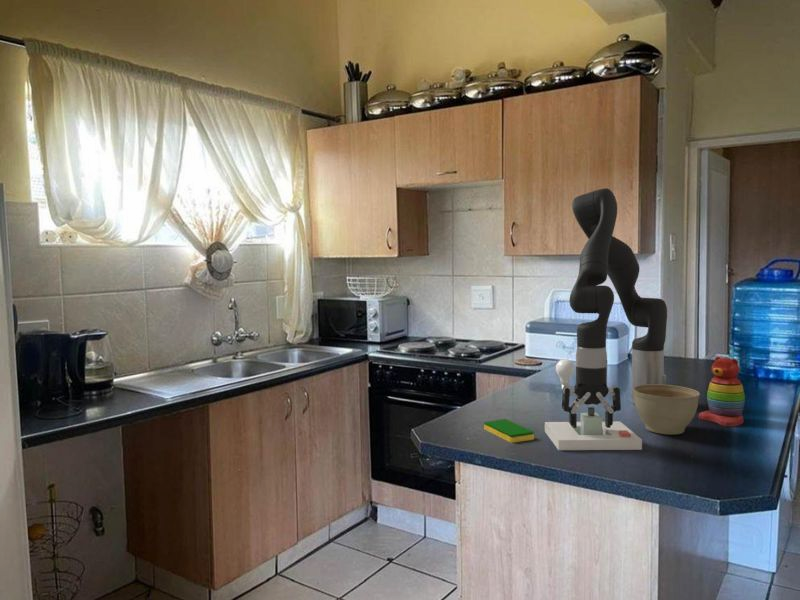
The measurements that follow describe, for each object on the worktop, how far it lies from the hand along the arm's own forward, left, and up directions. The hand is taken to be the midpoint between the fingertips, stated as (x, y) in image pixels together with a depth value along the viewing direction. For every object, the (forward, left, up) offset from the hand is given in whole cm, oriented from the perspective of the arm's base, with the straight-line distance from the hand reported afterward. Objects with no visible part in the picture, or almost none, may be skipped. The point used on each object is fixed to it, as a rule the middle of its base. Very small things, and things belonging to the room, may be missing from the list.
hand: (590, 427), depth 156 cm
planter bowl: (-22, -8, -4) cm, 24 cm away
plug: (0, 0, -3) cm, 3 cm away
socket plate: (0, 0, -3) cm, 3 cm away
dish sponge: (+20, -6, -4) cm, 21 cm away
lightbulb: (-7, -56, -4) cm, 57 cm away
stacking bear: (-42, -17, -4) cm, 45 cm away
